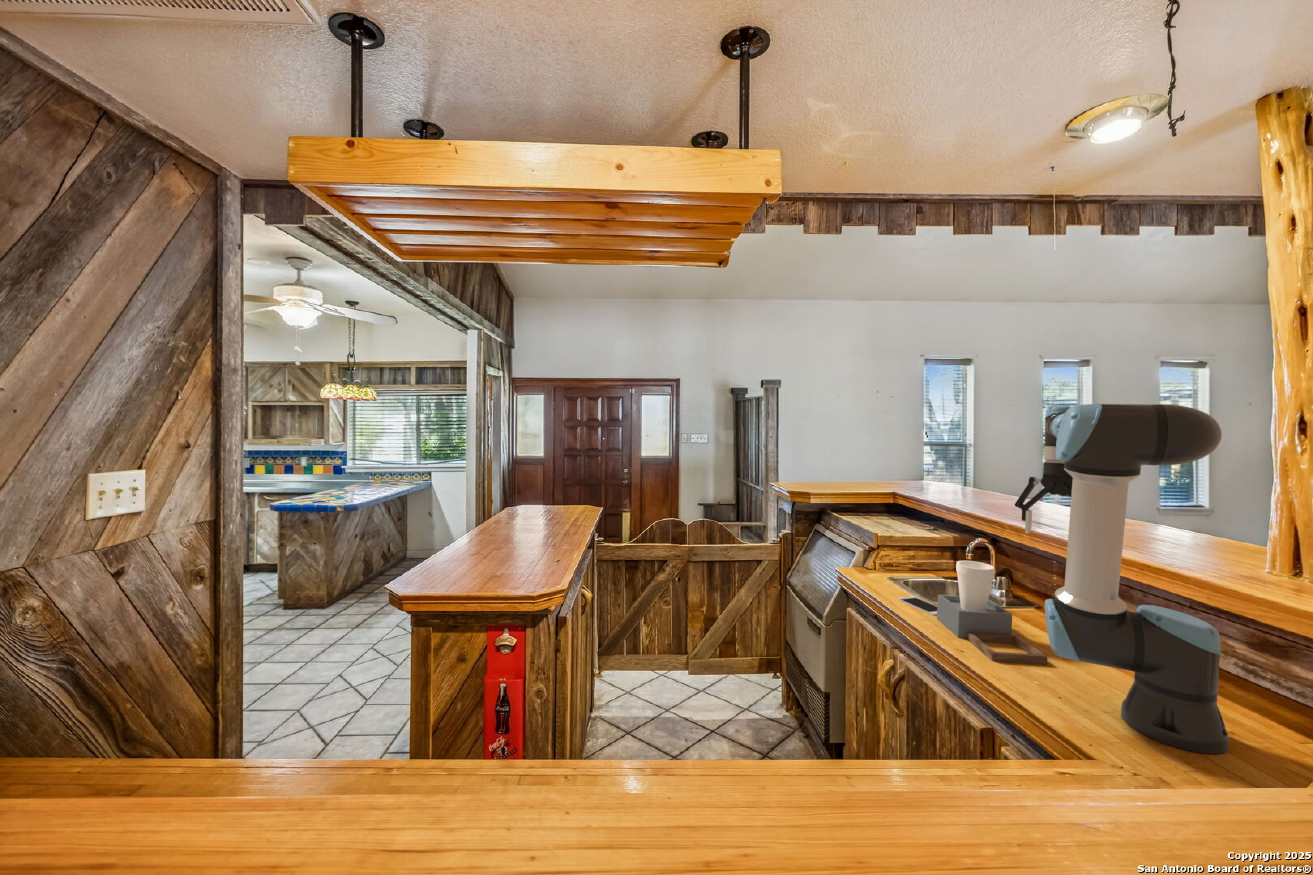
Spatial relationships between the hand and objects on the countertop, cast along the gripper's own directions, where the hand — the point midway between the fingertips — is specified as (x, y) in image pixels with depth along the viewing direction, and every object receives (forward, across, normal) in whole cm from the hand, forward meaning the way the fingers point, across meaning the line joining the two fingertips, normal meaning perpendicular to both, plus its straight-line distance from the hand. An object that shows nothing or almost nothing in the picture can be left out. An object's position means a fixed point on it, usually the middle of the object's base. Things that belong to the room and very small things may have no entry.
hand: (1056, 537), depth 146 cm
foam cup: (+23, +16, +12) cm, 31 cm away
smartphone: (+29, +34, +4) cm, 45 cm away
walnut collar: (+29, +5, +21) cm, 36 cm away
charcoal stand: (+29, +16, +12) cm, 35 cm away
